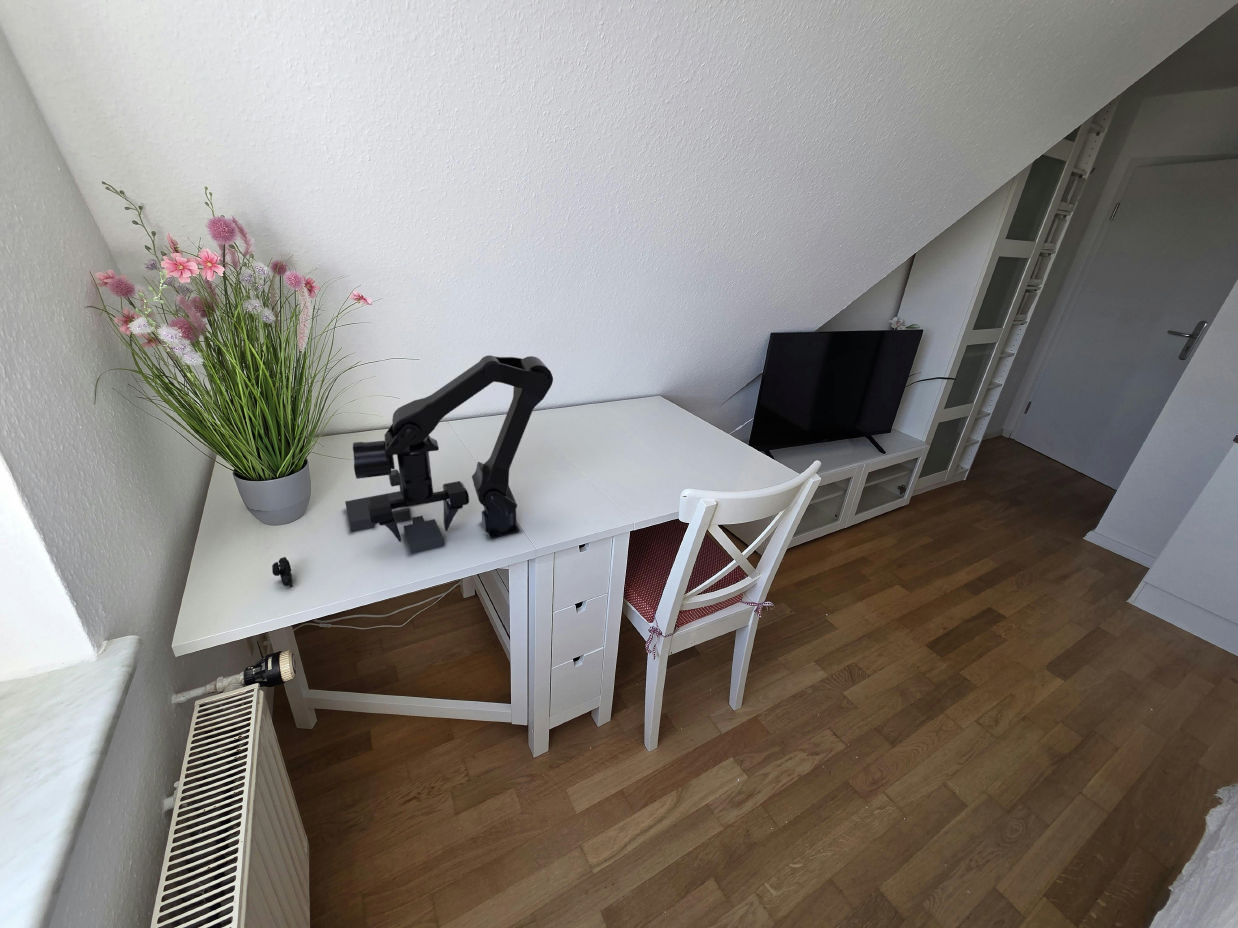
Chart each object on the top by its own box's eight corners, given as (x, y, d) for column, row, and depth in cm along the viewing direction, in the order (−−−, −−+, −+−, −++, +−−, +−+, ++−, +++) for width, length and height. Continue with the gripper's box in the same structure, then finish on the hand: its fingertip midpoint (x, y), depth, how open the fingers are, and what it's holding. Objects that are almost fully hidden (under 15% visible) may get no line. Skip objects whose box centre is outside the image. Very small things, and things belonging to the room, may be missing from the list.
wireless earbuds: (294, 592, 92) (287, 571, 89) (277, 597, 91) (270, 575, 88) (292, 570, 97) (286, 548, 95) (276, 573, 96) (269, 552, 93)
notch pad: (403, 499, 121) (402, 490, 120) (410, 519, 114) (409, 510, 113) (347, 510, 115) (345, 501, 114) (351, 532, 108) (349, 522, 107)
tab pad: (433, 522, 114) (432, 513, 112) (443, 546, 107) (442, 536, 105) (402, 529, 111) (401, 519, 109) (411, 554, 104) (409, 544, 102)
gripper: (453, 445, 110) (458, 506, 117) (357, 460, 101) (369, 525, 109) (467, 468, 102) (472, 532, 109) (364, 487, 93) (377, 555, 100)
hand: (423, 535), depth 107 cm, fingers open, 9 cm apart
